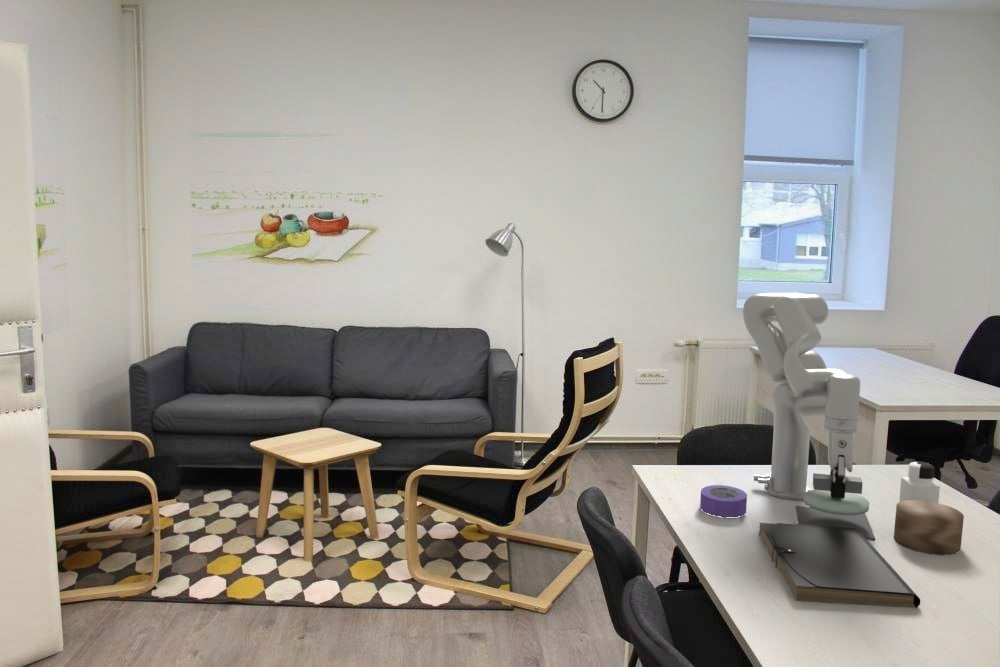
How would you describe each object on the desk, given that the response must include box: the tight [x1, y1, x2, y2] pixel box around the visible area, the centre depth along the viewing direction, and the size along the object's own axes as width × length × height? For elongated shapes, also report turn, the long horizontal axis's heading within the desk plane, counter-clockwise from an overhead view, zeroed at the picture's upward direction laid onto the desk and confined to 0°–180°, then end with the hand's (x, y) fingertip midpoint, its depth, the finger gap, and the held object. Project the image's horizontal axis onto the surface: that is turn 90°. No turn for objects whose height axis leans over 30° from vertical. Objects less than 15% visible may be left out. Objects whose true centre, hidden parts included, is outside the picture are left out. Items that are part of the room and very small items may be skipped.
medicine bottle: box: [899, 461, 941, 503], centre depth 206 cm, size 7×7×12 cm
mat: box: [795, 504, 876, 541], centre depth 195 cm, size 17×17×1 cm
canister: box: [893, 500, 965, 556], centre depth 183 cm, size 14×14×8 cm
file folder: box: [758, 521, 921, 608], centre depth 170 cm, size 33×4×24 cm
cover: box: [803, 472, 870, 515], centre depth 194 cm, size 15×15×7 cm
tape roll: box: [699, 484, 748, 517], centre depth 203 cm, size 12×12×5 cm
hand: (836, 493), depth 194 cm, fingers closed on cover, 4 cm apart
